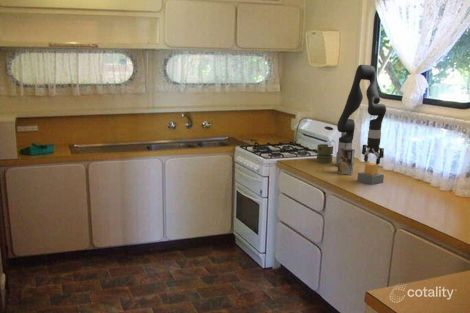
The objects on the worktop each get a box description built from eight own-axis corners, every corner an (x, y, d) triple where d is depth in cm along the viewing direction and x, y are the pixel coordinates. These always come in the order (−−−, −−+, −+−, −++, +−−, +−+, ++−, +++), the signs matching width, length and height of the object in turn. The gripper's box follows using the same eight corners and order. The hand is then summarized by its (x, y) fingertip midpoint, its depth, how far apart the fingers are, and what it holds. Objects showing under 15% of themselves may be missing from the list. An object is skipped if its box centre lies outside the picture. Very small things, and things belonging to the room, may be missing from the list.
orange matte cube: (364, 173, 298) (365, 163, 297) (369, 172, 301) (370, 162, 300) (371, 175, 293) (372, 165, 292) (377, 174, 297) (378, 164, 296)
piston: (326, 143, 359) (336, 146, 349) (325, 159, 361) (335, 162, 352) (314, 144, 353) (324, 147, 344) (313, 160, 356) (323, 163, 346)
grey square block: (357, 180, 299) (358, 172, 298) (368, 178, 306) (369, 170, 305) (371, 184, 291) (372, 175, 290) (383, 182, 297) (384, 173, 296)
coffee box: (353, 173, 319) (355, 149, 316) (350, 175, 314) (352, 150, 311) (339, 171, 323) (341, 147, 320) (337, 173, 318) (338, 149, 315)
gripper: (387, 138, 289) (385, 164, 293) (368, 134, 300) (366, 160, 304) (380, 139, 285) (377, 166, 288) (360, 135, 296) (358, 161, 299)
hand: (371, 163), depth 296 cm, fingers open, 8 cm apart
